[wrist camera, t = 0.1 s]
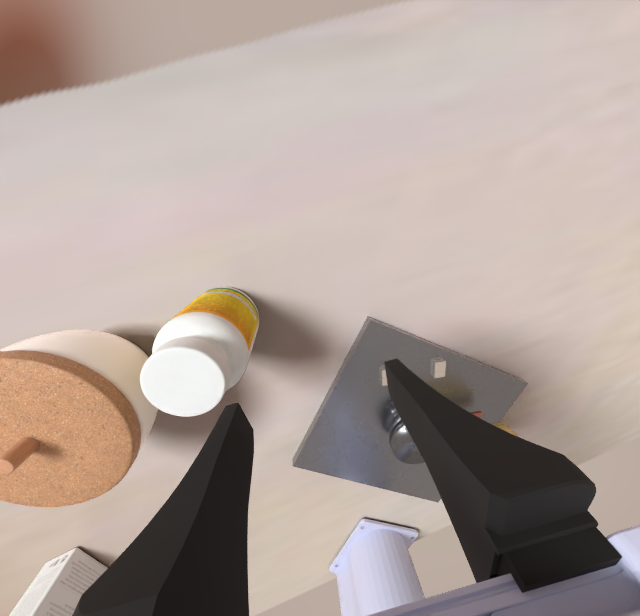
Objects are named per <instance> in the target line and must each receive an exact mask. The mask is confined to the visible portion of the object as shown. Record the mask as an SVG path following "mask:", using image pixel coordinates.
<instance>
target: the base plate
mask: <svg viewBox="0 0 640 616" xmlns="http://www.w3.org/2000/svg"><path fill="white" fill-rule="evenodd" d="M396 358H397V359H399V360H400V361H401V362H402V363H403V364H404V365H405V366H406V367H407V368H409V369H410V370H411V371H412V372H413V373H414V374H416V375H417V376H418V377H419V378H421V379H422V380H423V381H424V382H426V383H427V384H428V385H430V386H431V387H432V388H433V389H435V390H436V391H438V392H439V393H440V394H442V395H443V396H445V397H446V398H448V399H449V400H451V401H452V402H454V403H455V404H457V405H458V406H460V407H462V408H463V409H465V410H467V411H468V412H470V413H472V414H473V415H475V416H477V417H479V418H481V419H482V420H484V421H486V422H488V423H490V424H491V423H498V422H499V421H500V420H501V418H502V417H503V416H504V414H505V413H506V412H507V410H508V409H509V408H510V406H511V405H512V404H513V402H514V401H515V400H516V398H517V397H518V396H519V394H520V393H521V392H522V390H523V389H524V388H525V387H526V385H527V384H528V383H526V382H525V381H523V380H522V379H520V378H517V377H515V376H513V375H510V374H508V373H505V372H503V371H500V370H498V369H495V368H493V367H491V366H488V365H486V364H483V363H481V362H478V361H476V360H473V359H471V358H469V357H466V356H464V355H461V354H459V353H456V352H454V351H451V350H449V349H447V348H444V347H442V346H439V345H437V344H434V343H432V342H429V341H427V340H424V339H422V338H420V337H417V336H415V335H412V334H410V333H407V332H405V331H402V330H400V329H398V328H395V327H393V326H390V325H388V324H385V323H383V322H380V321H378V320H376V319H373V318H371V317H367V319H366V321H365V323H364V325H363V327H362V329H361V331H360V333H359V334H358V336H357V338H356V340H355V342H354V344H353V346H352V348H351V350H350V352H349V353H348V355H347V357H346V359H345V361H344V363H343V365H342V367H341V369H340V371H339V372H338V374H337V376H336V378H335V380H334V382H333V384H332V386H331V388H330V390H329V391H328V393H327V395H326V397H325V399H324V401H323V403H322V405H321V407H320V409H319V410H318V412H317V414H316V416H315V418H314V420H313V422H312V424H311V426H310V428H309V429H308V431H307V433H306V435H305V437H304V439H303V441H302V443H301V445H300V447H299V448H298V450H297V452H296V454H295V456H294V458H293V466H294V467H298V468H302V469H306V470H310V471H314V472H318V473H322V474H326V475H330V476H334V477H338V478H342V479H346V480H350V481H354V482H358V483H362V484H366V485H370V486H374V487H379V488H383V489H387V490H391V491H395V492H399V493H403V494H407V495H411V496H415V497H419V498H423V499H427V500H431V501H435V502H439V500H440V499H441V496H440V494H439V492H438V490H437V487H436V485H435V483H434V481H433V478H432V476H431V474H430V472H429V470H428V467H427V465H426V463H425V462H424V463H420V464H407V463H403V462H401V461H399V460H398V459H397V458H396V457H395V456H394V454H393V452H392V449H391V447H390V444H389V436H390V433H391V430H392V429H393V427H394V426H395V425H396V424H397V423H398V422H399V421H400V420H401V418H400V416H399V414H398V412H397V410H396V408H395V406H394V403H393V401H392V399H391V396H390V394H389V391H388V384H387V378H386V371H385V364H384V362H385V361H389V360H393V359H396Z"/></svg>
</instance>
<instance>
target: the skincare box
mask: <svg viewBox="0 0 640 616" xmlns="http://www.w3.org/2000/svg"><path fill="white" fill-rule="evenodd" d="M107 569H108V568H107V567H106V566H104V565H103V564H101V563H100V562H98V561H97V560H95V559H94V558H92V557H91V556H89V555H88V554H86V553H85V552H83V551H82V550H80V549H79V548H74V549H72V550H70V551H68V552H66V553H64V554H62V555H60V556H58V557H56V558H54V559H52V560H50V561H48V562H47V563H46V564H45V565H44V566H43V568H42V569H41V571H40V572H39V574H38V575H37V576H36V578H35V579H34V581H33V582H32V584H31V585H30V586H29V588H28V589H27V591H26V592H25V594H24V595H23V596H22V598H21V599H20V601H19V602H18V604H17V605H16V606H15V608H14V609H13V611H12V612H11V614H10V615H9V616H72V615H73V613H74V611H75V608H76V606H77V604H78V602H79V600H80V598H81V596H82V594H83V593H84V592H85V591H86V590H87V589H88V588H89V587H90V586H91V585H92V584H93V583H94V582H95V581H96V580H97V579H98V578H99V577H100V576H101V575H102V574H103V573H104V572H105V571H106V570H107Z"/></svg>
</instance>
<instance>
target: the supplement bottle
mask: <svg viewBox="0 0 640 616" xmlns="http://www.w3.org/2000/svg"><path fill="white" fill-rule="evenodd" d="M258 327H259V313H258V310H257V308H256V306H255V304H254V303H253V301H252V300H251V299H250V298H249V297H248V296H247V295H246V294H245V293H243V292H242V291H240V290H237V289H235V288H231V287H216V288H212V289H210V290H208V291H206V292H204V293H203V294H201V295H200V296H199V297H197V298H196V299H195V300H194V301H193V302H191V303H190V304H189V305H188V306H187V307H185V308H184V309H183V310H182V311H181V312H180V313H179V314H177V315H176V316H175V317H173V318H172V319H171V320H169V321H168V322H167V323H166V324H165V325H164V326H163V327H162V329H161V330H160V331H159V333H158V334H157V336H156V338H155V341H154V344H153V349H152V355H151V356H150V357H149V358H148V359H147V361H146V362H145V364H144V366H143V368H142V370H141V374H140V384H141V389H142V391H143V393H144V395H145V397H146V398H147V399H148V400H149V402H150V403H151V404H152V405H154V406H155V407H156V408H158V409H159V410H161V411H163V412H165V413H168V414H171V415H175V416H182V417H190V416H197V415H200V414H204V413H206V412H208V411H210V410H211V409H213V408H214V407H215V406H216V405H217V404H218V403H219V402H220V401H221V399H222V397H223V395H224V393H225V391H227V390H229V389H230V388H231V387H233V386H234V385H235V384H236V383H237V382H238V381H239V380H240V379H241V377H242V376H243V374H244V372H245V370H246V368H247V364H248V361H249V358H250V354H251V351H252V348H253V344H254V341H255V338H256V335H257V332H258Z"/></svg>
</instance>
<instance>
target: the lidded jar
mask: <svg viewBox="0 0 640 616" xmlns="http://www.w3.org/2000/svg"><path fill="white" fill-rule="evenodd" d="M148 358H149V357H148V356H147V355H146V353H145V352H144V351H143V350H142V349H140V348H139V347H138V346H137V345H135V344H133V343H132V342H130V341H128V340H126V339H124V338H121V337H119V336H116V335H113V334H110V333H106V332H100V331H95V330H67V331H59V332H54V333H49V334H45V335H40V336H36V337H33V338H29V339H26V340H23V341H20V342H18V343H15V344H13V345H10V346H8V347H5V348H3V349H0V500H3V501H6V502H10V503H15V504H20V505H25V506H36V507H59V506H67V505H73V504H77V503H82V502H85V501H88V500H90V499H93V498H96V497H98V496H100V495H102V494H103V493H105V492H107V491H109V490H110V489H112V488H113V487H114V486H115V485H117V484H118V483H119V482H120V481H121V480H122V478H123V477H124V476H125V475H126V474H127V472H128V471H129V469H130V467H131V466H132V464H133V462H134V460H135V459H136V457H137V454H138V451H139V450H140V448H141V446H142V445H143V443H144V441H145V440H146V438H147V436H148V435H149V433H150V431H151V429H152V426H153V424H154V422H155V419H156V416H157V413H158V410H159V409H158V408H156V407H155V406H154V405H152V404H151V403H150V402H149V400H148V399H147V398H146V397H145V395H144V393H143V391H142V389H141V384H140V374H141V370H142V368H143V366H144V364H145V362H146V361H147V359H148Z"/></svg>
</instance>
